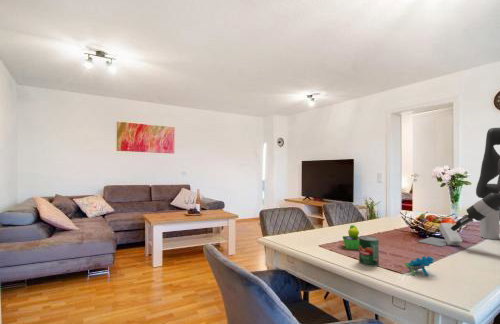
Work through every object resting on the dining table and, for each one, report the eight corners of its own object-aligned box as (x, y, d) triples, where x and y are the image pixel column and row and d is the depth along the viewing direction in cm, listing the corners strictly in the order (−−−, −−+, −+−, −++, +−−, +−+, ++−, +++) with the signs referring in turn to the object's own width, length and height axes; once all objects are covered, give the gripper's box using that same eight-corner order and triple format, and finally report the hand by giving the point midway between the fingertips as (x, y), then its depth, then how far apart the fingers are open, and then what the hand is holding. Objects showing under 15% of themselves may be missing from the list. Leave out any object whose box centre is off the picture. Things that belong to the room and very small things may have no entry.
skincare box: (459, 245, 149) (449, 227, 158) (463, 241, 146) (452, 223, 155) (447, 245, 150) (438, 227, 159) (450, 240, 147) (441, 222, 156)
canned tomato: (379, 262, 121) (379, 237, 121) (377, 267, 114) (377, 241, 114) (360, 259, 125) (360, 234, 125) (357, 264, 118) (357, 238, 118)
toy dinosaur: (426, 264, 113) (435, 253, 106) (434, 279, 109) (445, 267, 102) (400, 268, 113) (407, 256, 106) (407, 282, 109) (415, 271, 102)
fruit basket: (343, 249, 140) (343, 227, 140) (342, 244, 149) (342, 223, 149) (367, 251, 137) (367, 228, 138) (364, 246, 146) (364, 225, 146)
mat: (431, 237, 166) (431, 237, 166) (454, 242, 156) (454, 241, 157) (417, 241, 156) (417, 241, 156) (441, 247, 146) (441, 246, 146)
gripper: (478, 203, 145) (451, 222, 155) (469, 204, 138) (441, 225, 147) (491, 214, 141) (462, 233, 151) (483, 217, 133) (453, 237, 143)
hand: (452, 229), depth 149 cm, fingers closed
